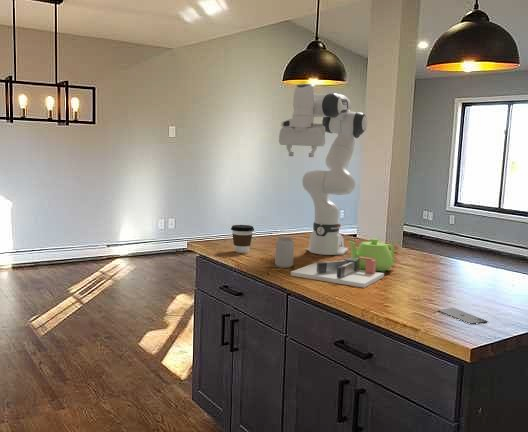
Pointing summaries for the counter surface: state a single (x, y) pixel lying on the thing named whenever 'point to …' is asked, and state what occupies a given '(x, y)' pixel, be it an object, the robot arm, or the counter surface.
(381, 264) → the teapot
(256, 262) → the counter surface
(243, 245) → the coffee cup
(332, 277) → the board
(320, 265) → the tongs arm
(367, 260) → the lock tab
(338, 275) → the tongs fixed
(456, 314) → the smartphone
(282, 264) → the can
